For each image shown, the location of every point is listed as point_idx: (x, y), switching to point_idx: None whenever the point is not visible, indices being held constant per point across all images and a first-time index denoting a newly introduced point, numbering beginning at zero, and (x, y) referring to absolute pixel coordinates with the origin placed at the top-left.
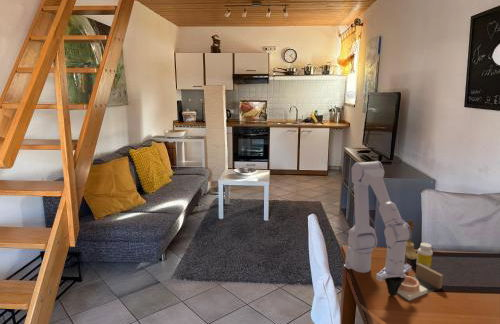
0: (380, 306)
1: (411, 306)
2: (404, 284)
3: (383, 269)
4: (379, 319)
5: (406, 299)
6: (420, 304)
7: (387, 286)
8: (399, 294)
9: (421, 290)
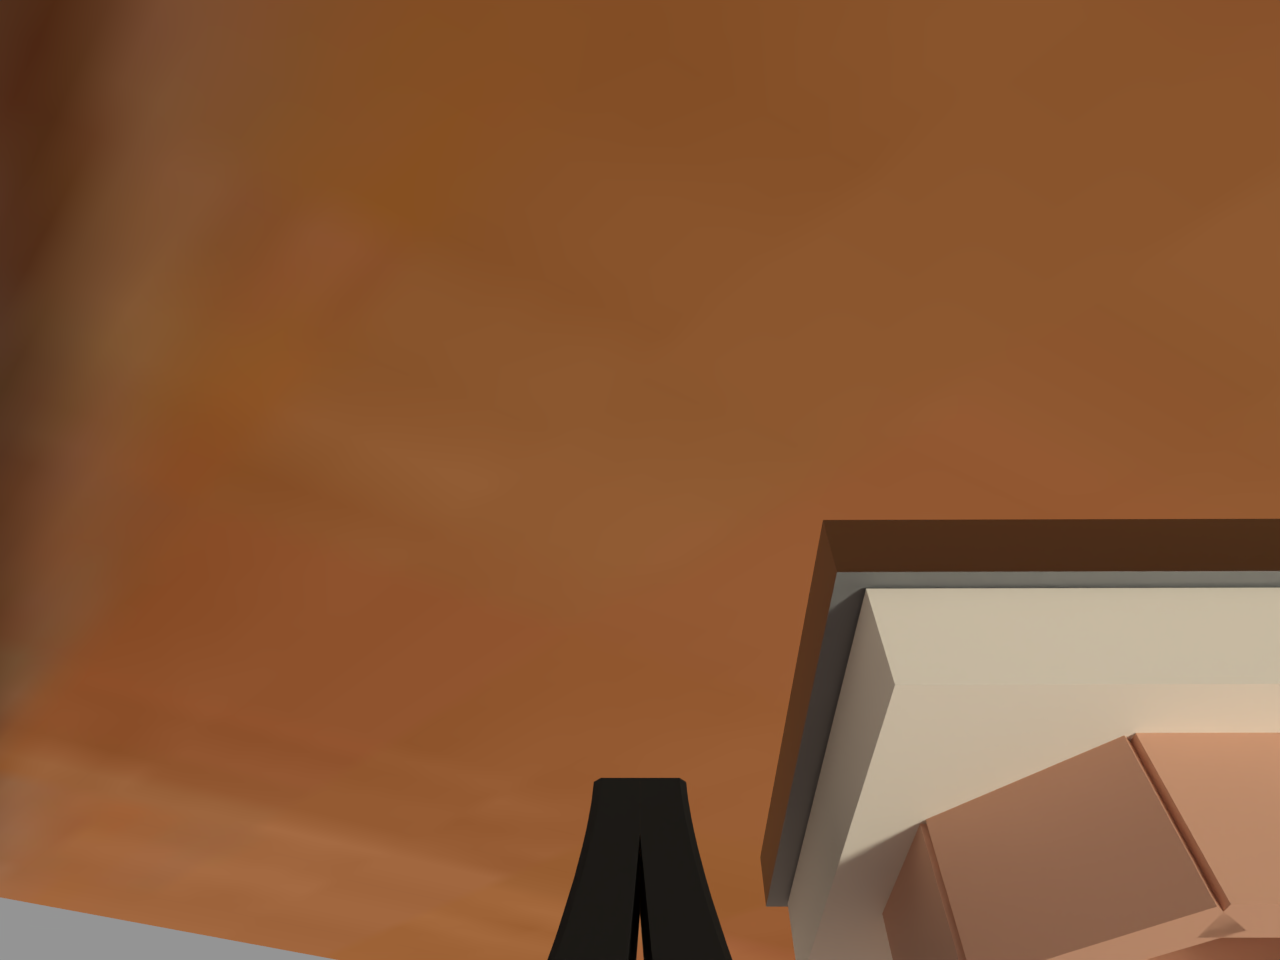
0: (273, 766)
1: (743, 883)
2: None
3: None
4: (91, 880)
5: (778, 881)
6: None
7: (552, 957)
8: (814, 795)
9: None
